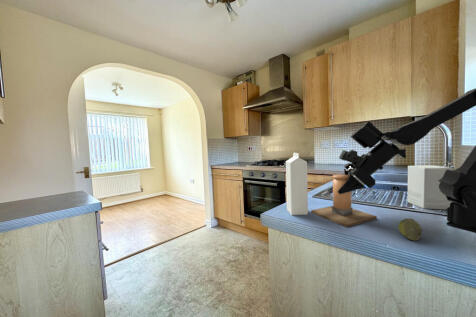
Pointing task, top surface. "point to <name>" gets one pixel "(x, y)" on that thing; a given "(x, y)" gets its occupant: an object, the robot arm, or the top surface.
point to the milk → (296, 185)
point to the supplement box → (426, 187)
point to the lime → (410, 229)
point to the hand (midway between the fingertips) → (337, 190)
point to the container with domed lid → (340, 199)
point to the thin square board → (344, 216)
